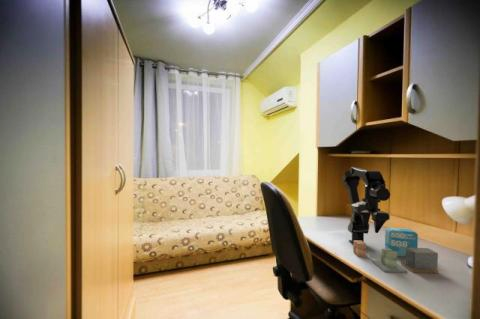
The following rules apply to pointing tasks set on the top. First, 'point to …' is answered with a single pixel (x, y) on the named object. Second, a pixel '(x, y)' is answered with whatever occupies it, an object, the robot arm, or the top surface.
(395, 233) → the data package
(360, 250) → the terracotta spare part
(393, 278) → the top surface
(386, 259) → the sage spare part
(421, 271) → the mounted unit
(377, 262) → the pad
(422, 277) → the top surface
